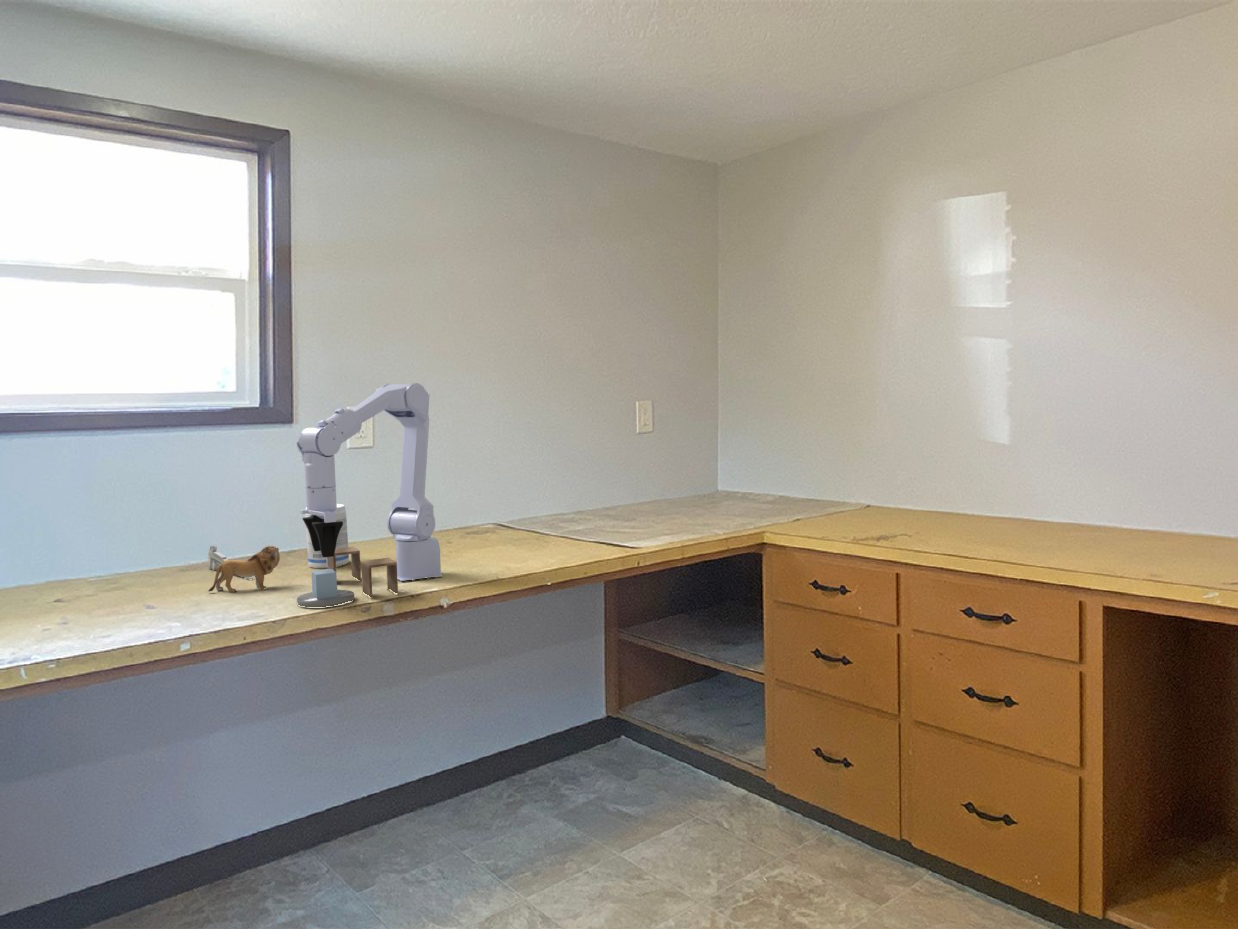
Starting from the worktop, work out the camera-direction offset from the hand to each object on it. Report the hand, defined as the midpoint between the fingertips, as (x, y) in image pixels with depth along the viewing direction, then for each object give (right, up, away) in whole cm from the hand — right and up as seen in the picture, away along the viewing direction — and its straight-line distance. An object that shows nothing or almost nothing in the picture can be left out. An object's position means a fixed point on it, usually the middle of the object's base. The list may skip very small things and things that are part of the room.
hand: (323, 553), depth 171 cm
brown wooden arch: (-2, -8, +20) cm, 22 cm away
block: (0, -9, +1) cm, 9 cm away
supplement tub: (-12, -7, +38) cm, 40 cm away
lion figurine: (-21, -9, +14) cm, 27 cm away
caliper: (-32, -8, +29) cm, 44 cm away
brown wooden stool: (+10, -9, +7) cm, 15 cm away
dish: (0, -10, +1) cm, 10 cm away
